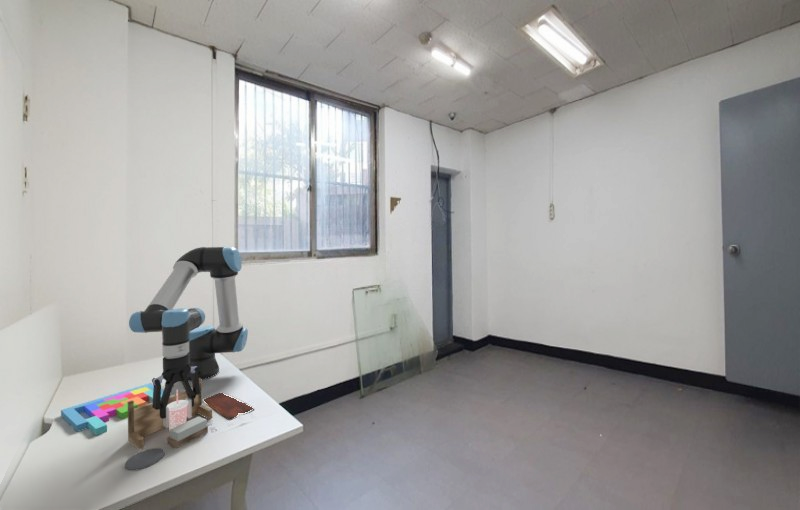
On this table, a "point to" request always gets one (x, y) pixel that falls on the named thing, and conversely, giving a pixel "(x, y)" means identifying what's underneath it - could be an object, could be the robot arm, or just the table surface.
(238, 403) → the wooden tablet
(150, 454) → the coaster
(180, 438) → the offcut upper
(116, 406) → the tetris game
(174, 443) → the offcut lower
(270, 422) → the table surface
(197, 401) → the rack
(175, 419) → the beverage cup
